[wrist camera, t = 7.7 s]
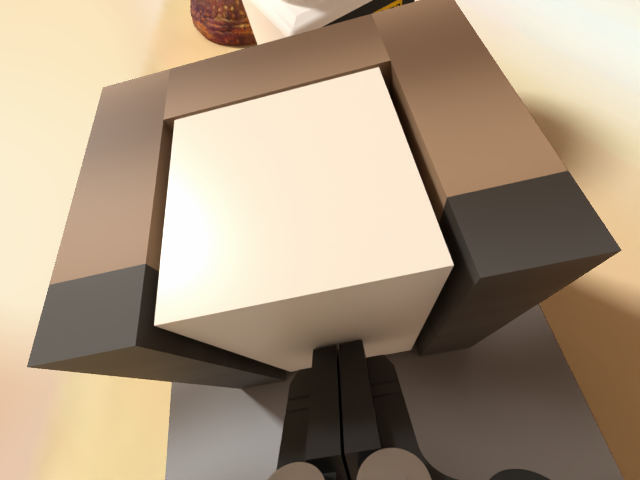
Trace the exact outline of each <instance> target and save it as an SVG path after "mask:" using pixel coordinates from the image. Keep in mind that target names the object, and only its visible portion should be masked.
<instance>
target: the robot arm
mask: <svg viewBox="0 0 640 480" xmlns="http://www.w3.org/2000/svg"><path fill="white" fill-rule="evenodd" d="M267 480H458V479H454V478H451V477H449V476H447V475H445V474H443V473H441V472H439V471H438V470H437V469H435V468H434V467H433V466H432V465H431V464H430V463H429V462H428V461H427V460H426V459H425V457H424V456H423V454H422V453H421V451H420V449H419V446H418V443H417V440H416V436H415V433H414V430H413V426H412V423H411V420H410V416H409V413H408V410H407V406H406V403H405V400H404V396H403V393H402V390H401V386H400V383H399V380H398V376H397V373H396V370H395V366H394V364H393V363H392V362H391V361H390V360H389V359H388V358H387V357H386V356H385V355H377V356H372V357H366V354H365V350H364V345H363V341H362V340H360V341H355V342H349V343H344V344H339V349H338V346H337V345H333V346H328V347H323V348H317V349H313V356H312V367H311V368H306V369H300V370H298V372H297V373H296V375H295V376H294V378H293V380H292V381H291V383H290V386H289V393H288V402H287V406H286V415H285V418H284V425H283V431H282V438H281V444H280V450H279V457H278V463H277V469H276V471H275V472H274V473H273V474H272V475H271V476H270V477H269V478H268V479H267ZM490 480H550V479H548V478H547V477H545V476H543V475H541V474H538V473H536V472H533V471H529V470H525V469H507V470H503V471H500V472H498V473H496V474H495V475H493V476H492V477H491V478H490Z"/></svg>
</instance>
